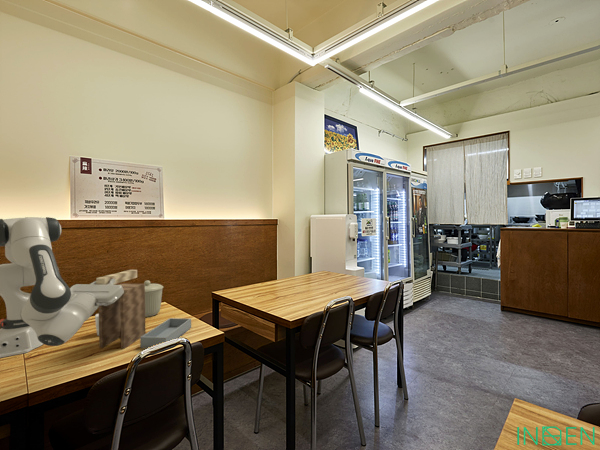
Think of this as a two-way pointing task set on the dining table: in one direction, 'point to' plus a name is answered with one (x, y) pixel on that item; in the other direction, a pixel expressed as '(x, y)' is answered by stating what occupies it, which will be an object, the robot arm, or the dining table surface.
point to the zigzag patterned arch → (123, 317)
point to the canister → (152, 298)
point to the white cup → (97, 323)
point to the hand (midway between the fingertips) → (107, 279)
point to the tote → (165, 332)
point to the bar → (117, 277)
